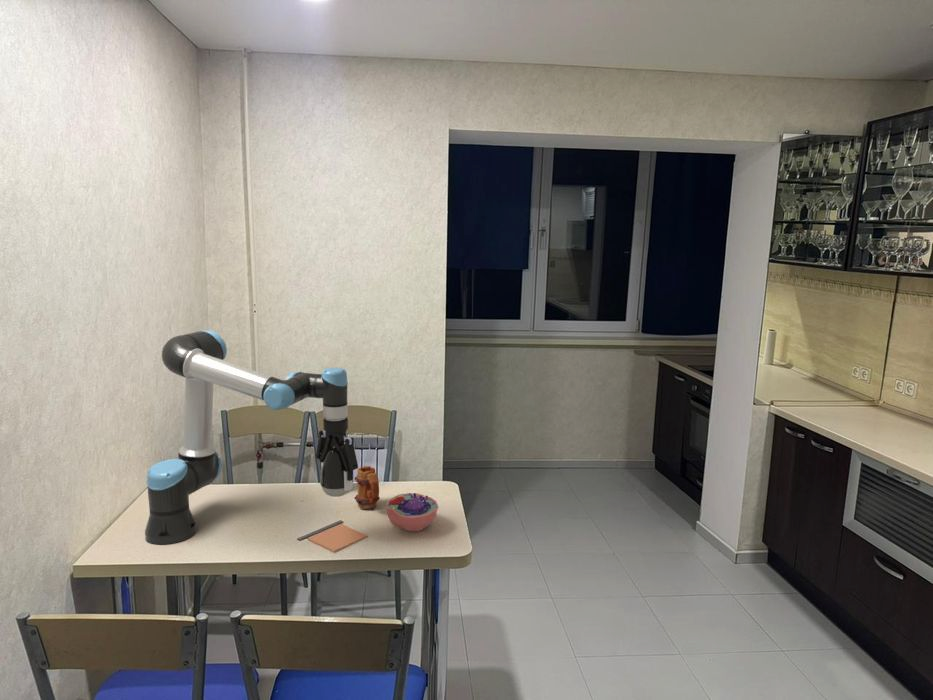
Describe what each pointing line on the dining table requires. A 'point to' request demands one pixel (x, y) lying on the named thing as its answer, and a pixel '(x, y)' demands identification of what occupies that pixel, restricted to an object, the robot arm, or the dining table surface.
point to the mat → (337, 538)
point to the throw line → (320, 530)
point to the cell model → (411, 511)
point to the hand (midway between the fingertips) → (337, 485)
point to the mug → (367, 487)
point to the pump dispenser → (333, 474)
